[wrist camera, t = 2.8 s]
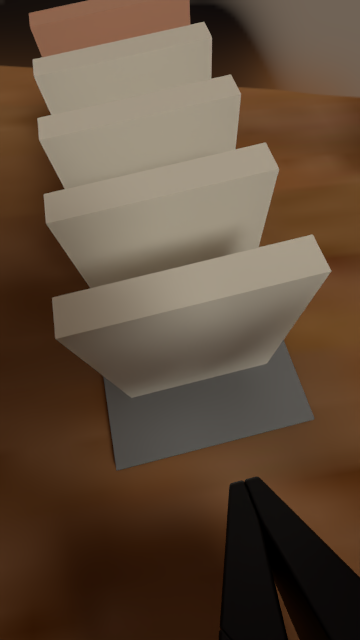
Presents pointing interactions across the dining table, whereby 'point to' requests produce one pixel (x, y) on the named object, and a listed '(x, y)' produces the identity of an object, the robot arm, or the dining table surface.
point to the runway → (205, 411)
